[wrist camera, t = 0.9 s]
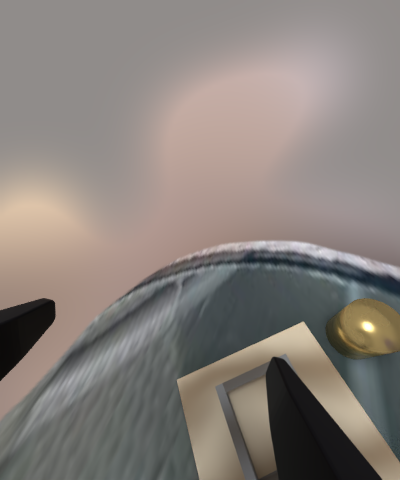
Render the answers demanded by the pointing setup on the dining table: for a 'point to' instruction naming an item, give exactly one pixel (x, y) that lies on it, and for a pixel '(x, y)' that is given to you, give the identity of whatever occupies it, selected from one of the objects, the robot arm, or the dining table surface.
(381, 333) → the cylinder
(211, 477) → the board
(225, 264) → the dining table surface
